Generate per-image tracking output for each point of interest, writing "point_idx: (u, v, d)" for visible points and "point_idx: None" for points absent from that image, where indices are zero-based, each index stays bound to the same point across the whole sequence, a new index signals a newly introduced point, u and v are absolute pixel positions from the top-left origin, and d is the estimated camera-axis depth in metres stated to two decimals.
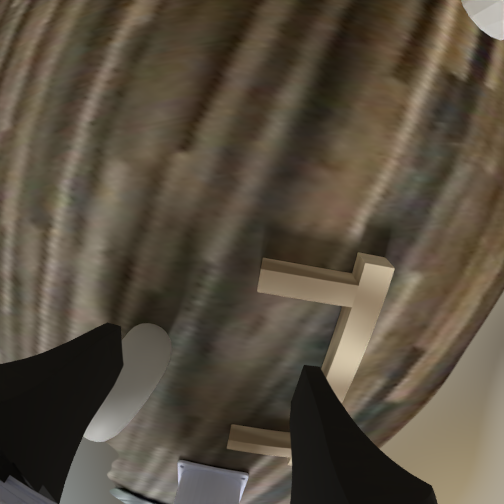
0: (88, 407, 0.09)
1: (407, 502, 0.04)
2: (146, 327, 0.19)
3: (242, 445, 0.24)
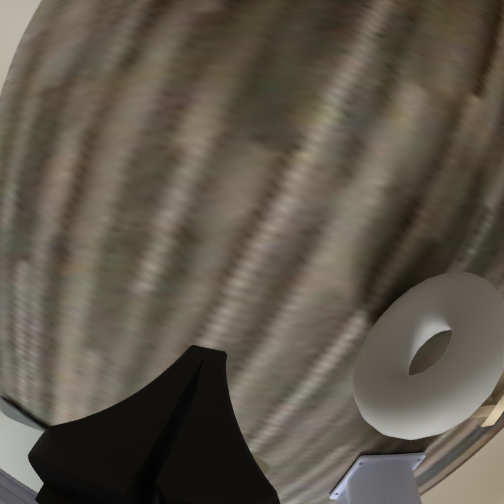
0: None
1: (224, 499, 0.04)
2: (468, 272, 0.14)
3: None
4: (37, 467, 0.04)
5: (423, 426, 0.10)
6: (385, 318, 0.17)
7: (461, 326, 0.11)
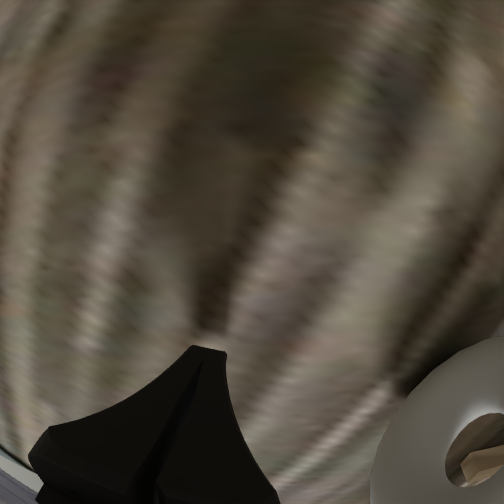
0: None
1: (224, 499, 0.04)
2: None
3: (486, 472, 0.13)
4: (37, 467, 0.04)
5: None
6: (421, 398, 0.11)
7: None
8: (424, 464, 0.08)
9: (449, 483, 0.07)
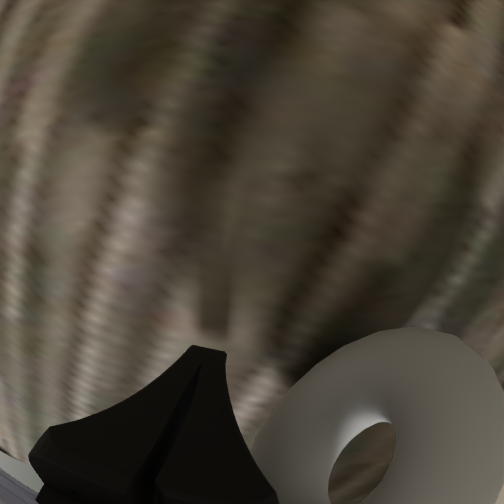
0: None
1: (223, 499, 0.04)
2: (444, 334, 0.08)
3: None
4: (37, 467, 0.04)
5: None
6: (296, 393, 0.11)
7: (404, 468, 0.05)
8: (288, 470, 0.08)
9: (316, 499, 0.07)
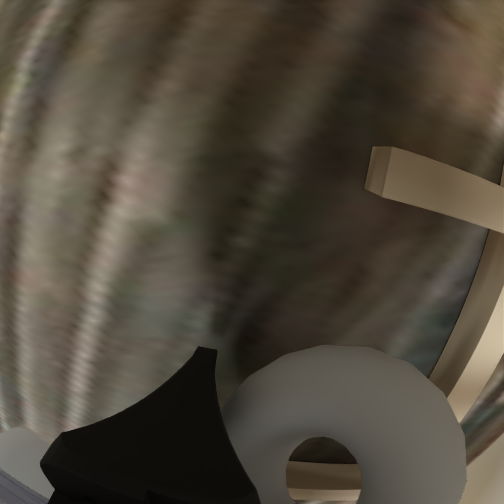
0: None
1: (203, 495, 0.04)
2: (398, 369, 0.08)
3: (296, 493, 0.13)
4: (49, 474, 0.04)
5: None
6: (234, 422, 0.10)
7: None
8: None
9: None
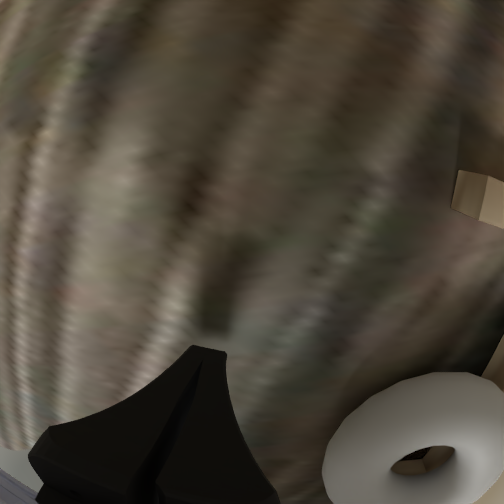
0: None
1: (225, 499, 0.04)
2: (497, 401, 0.08)
3: None
4: (37, 467, 0.04)
5: None
6: (373, 462, 0.10)
7: (481, 477, 0.08)
8: (384, 491, 0.10)
9: (404, 487, 0.11)
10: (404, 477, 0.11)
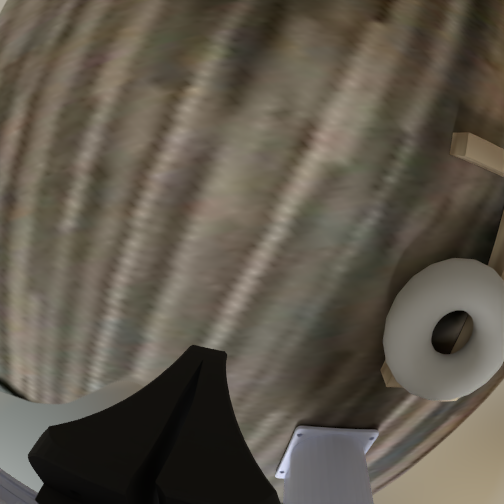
0: None
1: (224, 499, 0.04)
2: (495, 275, 0.15)
3: None
4: (37, 467, 0.04)
5: (463, 395, 0.16)
6: (422, 316, 0.16)
7: (497, 340, 0.14)
8: (430, 354, 0.17)
9: (442, 357, 0.17)
10: (440, 353, 0.18)
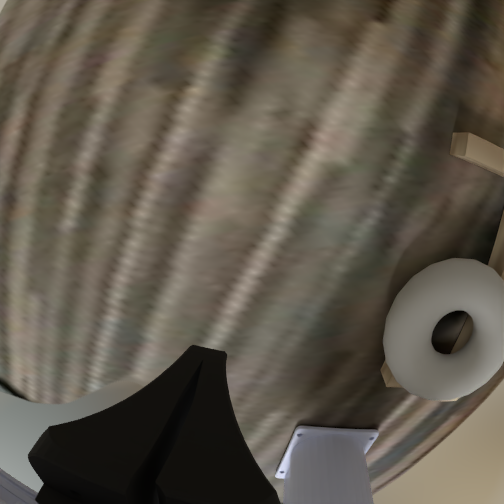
0: None
1: (224, 499, 0.04)
2: (495, 275, 0.15)
3: None
4: (37, 467, 0.04)
5: (463, 395, 0.16)
6: (422, 316, 0.16)
7: (497, 340, 0.14)
8: (430, 354, 0.17)
9: (442, 357, 0.17)
10: (440, 353, 0.18)
